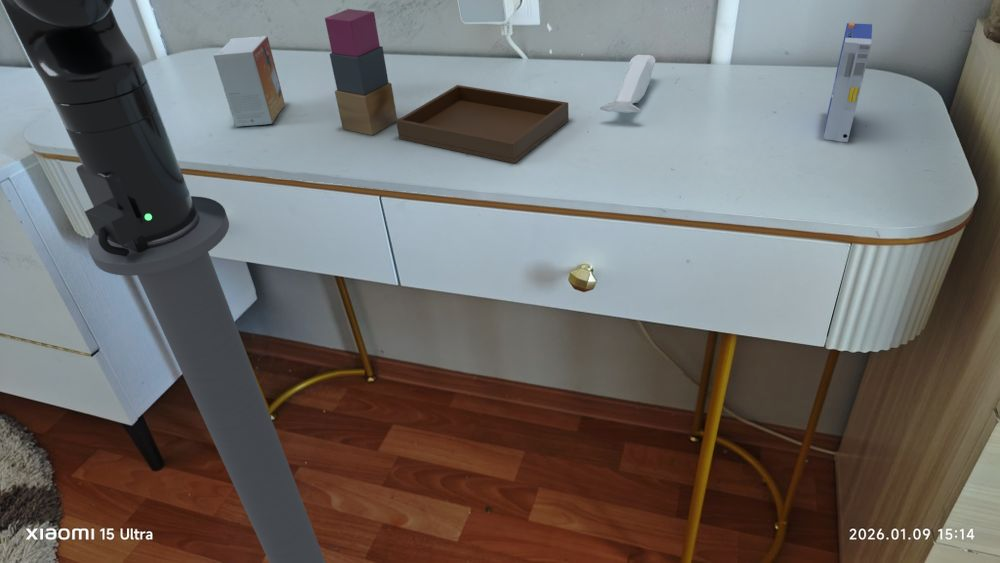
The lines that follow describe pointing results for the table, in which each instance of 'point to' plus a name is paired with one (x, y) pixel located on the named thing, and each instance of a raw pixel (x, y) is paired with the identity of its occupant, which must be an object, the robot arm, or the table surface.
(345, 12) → the pink block
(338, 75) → the grey block
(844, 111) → the walkman
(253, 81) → the small box
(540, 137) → the tray
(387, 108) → the oak block
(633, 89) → the white fish figurine
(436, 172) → the table surface
